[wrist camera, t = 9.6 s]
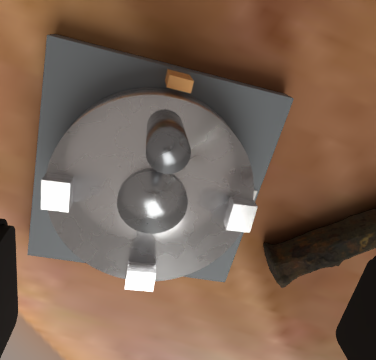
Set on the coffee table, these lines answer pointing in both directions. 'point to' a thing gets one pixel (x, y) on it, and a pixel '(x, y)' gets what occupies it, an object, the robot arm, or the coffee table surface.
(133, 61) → the gray plinth
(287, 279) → the hand tool
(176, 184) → the silver disc
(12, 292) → the robot arm
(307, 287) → the coffee table surface
